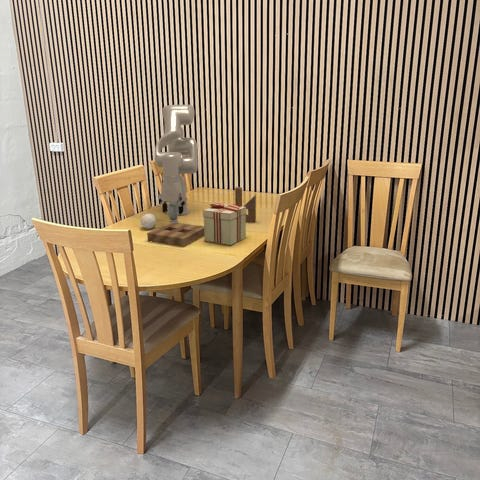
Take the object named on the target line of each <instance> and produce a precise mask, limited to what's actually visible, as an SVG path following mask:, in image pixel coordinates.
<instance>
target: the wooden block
mask: <svg viewBox="0 0 480 480" xmlns="http://www.w3.org/2000/svg"><path fill="white" fill-rule="evenodd" d="M234 194H235V196H234V199H235V201H234V203H235V205H238V206H243V207H246V210H247V213H246V223H251V224H252V223H256V221H257V213H256V212H257V208H256V207H257V202H256V201H257V195H256V194H255V195H254V196H253V197H251V198H250V199H249V200H248V201H247V202H246V203H245V204H244V205H243V188H242V186H236V187H235V188H234Z"/></svg>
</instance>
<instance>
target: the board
mask: <svg viewBox="0 0 480 480" xmlns="http://www.w3.org/2000/svg"><path fill="white" fill-rule="evenodd" d="M146 236H147V242H150V241H152V242H151V243H156V242H157V244H163V245H167V246H175V247H179V248H180V247H181V248H185V247H187V246H188V245H190V244H192V243H194V242H196V241H197V240H199V239H201V238H203V237H205V235H204V225H196V224H190V223H182V222H178V223H176V222H170V221H169V222H168V223H167V224H164V225H162V226H159V227H157V228H156V229H153V230H151V231H148V232H147V233H146Z"/></svg>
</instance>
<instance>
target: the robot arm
mask: <svg viewBox="0 0 480 480" xmlns="http://www.w3.org/2000/svg"><path fill="white" fill-rule="evenodd" d="M161 112H162V117H163V121H164V129H163V131H164V134H163V135H162V136H161V137H160V138H159V140H158V141H157V142H156V144H155V147H154V148H155V149H154V162H155V163H154V164H155V165H156V167H158V168H162V173H163V175H162V177H161V179H162V180H163V181H162V183H161V187H160V188H161V193H160V194H157V199H158V201H159V202H160V205H161V207H162V212H163V213H167V214H168V215H169V216H170V212H169V205H170V204H176V205H177V216H184V215H188V214H189V213H190V212H191V211H190V209H189V208H187V207H188V206H187V205H188V203H187V201H188V197H187V187H186V180H185V178H184V177H183V176H182V175H184V174H185V175H187V174H188V175H189V174H191V175H192V174H196V173H197V171H198V166H199V165H198V163H199V160H198V155H199V154H198V143H197V140H196V139H195V138H194V137H185V136H184V129H183V127H182V126H188V125H189V126H190V125H192V124H193V121H194V119H195V108H194V106H193V105H191V104H170V105H166V106H163V108H162V111H161ZM165 147H167V148H168V149H167V150H168V151H162V150H163V148H165Z"/></svg>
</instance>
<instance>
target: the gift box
mask: <svg viewBox="0 0 480 480" xmlns="http://www.w3.org/2000/svg"><path fill="white" fill-rule="evenodd" d="M243 206H244V205H242V206H238V205H235V204H233V203H232V204H225V203H224V204H223V203H222V202H217V201H215V202H214V201H213V202H212V203H210V204H209V208H206V209H203V210H202V217H203V226H204V235H205V236H204V242H209V243H215V244H220V245H227V246H233V245H235V244H236V243H238V242H239V241H241V240H244V238H246V237H247V235H246V234H247V227H246V226H247V225H246V224H247V222H246V214H247V209H246V207H243Z"/></svg>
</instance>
